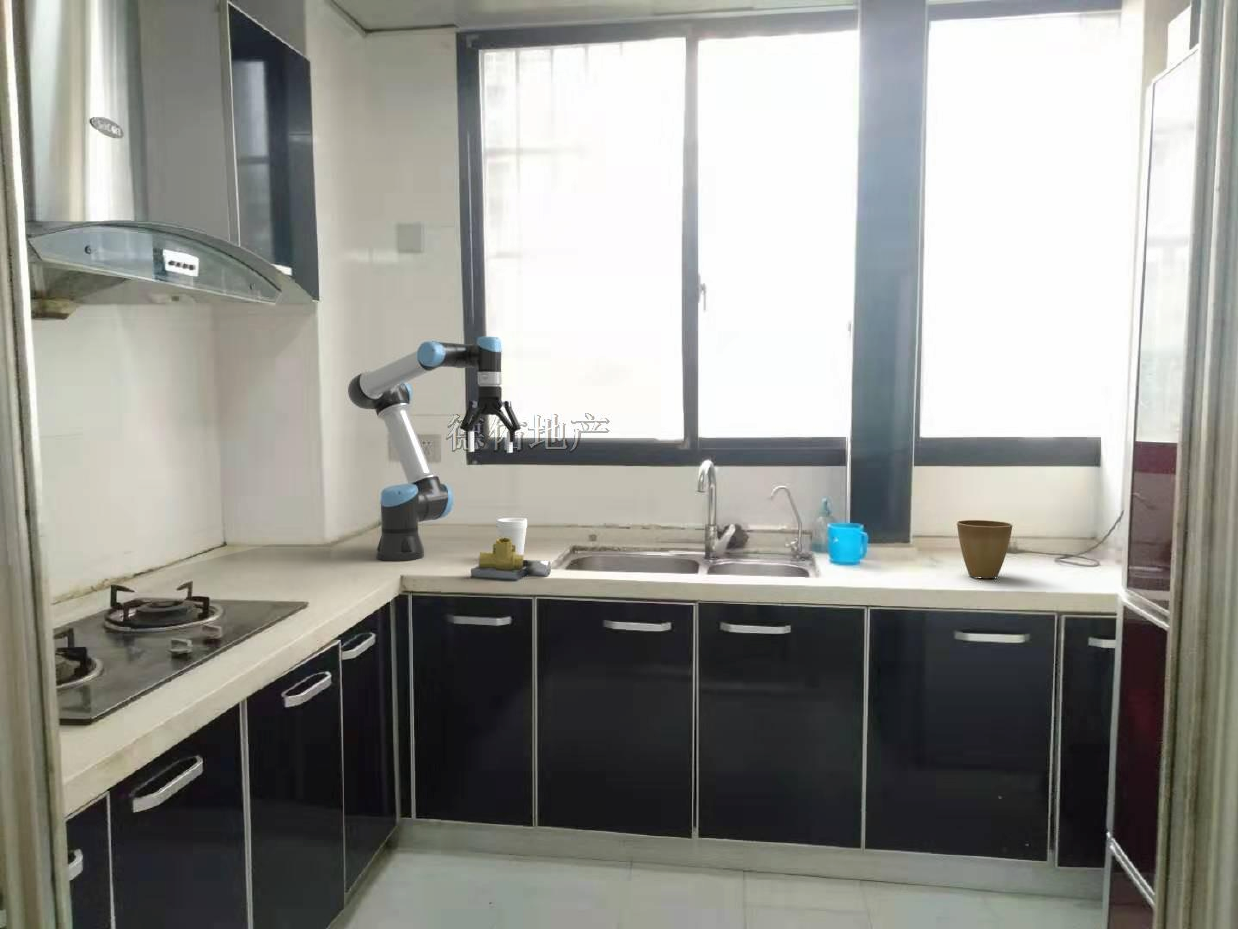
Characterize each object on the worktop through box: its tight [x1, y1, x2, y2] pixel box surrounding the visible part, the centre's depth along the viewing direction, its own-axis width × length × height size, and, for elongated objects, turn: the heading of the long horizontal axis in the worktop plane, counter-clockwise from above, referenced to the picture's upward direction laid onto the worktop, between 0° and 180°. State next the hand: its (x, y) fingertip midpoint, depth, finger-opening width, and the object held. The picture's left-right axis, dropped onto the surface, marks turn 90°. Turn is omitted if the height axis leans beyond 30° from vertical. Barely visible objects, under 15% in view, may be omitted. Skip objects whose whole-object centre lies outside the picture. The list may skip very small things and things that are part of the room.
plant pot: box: [956, 519, 1014, 578], centre depth 244 cm, size 15×15×16 cm
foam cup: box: [496, 517, 528, 556], centre depth 270 cm, size 10×9×13 cm
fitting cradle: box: [470, 559, 552, 582], centre depth 248 cm, size 21×18×4 cm
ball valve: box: [478, 537, 524, 571], centre depth 247 cm, size 13×10×10 cm
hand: (490, 452), depth 268 cm, fingers open, 13 cm apart
